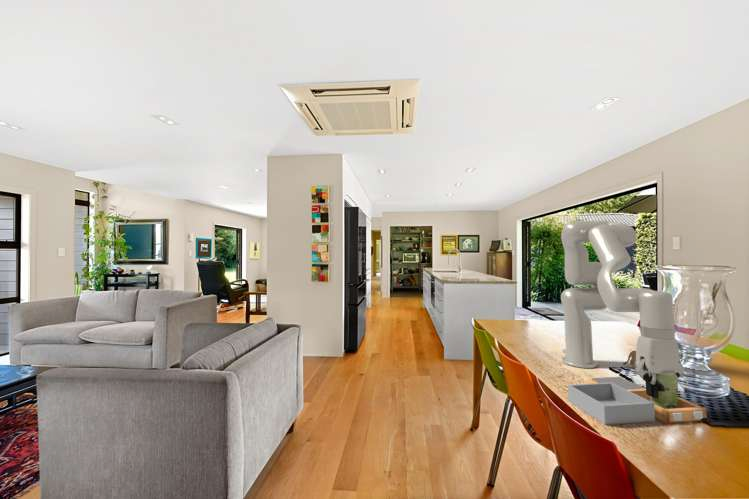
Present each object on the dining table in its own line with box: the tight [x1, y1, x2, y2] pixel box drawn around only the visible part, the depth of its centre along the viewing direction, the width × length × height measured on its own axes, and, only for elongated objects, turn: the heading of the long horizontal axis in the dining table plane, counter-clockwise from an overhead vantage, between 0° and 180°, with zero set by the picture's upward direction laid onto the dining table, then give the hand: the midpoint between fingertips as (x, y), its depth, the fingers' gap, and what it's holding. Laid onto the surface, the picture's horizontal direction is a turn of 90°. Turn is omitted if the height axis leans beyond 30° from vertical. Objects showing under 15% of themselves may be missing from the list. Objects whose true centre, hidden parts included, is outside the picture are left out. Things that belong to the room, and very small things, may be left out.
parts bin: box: [567, 383, 656, 426], centre depth 92 cm, size 14×14×5 cm
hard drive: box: [630, 375, 685, 393], centre depth 110 cm, size 2×8×12 cm
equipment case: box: [587, 376, 708, 424], centre depth 99 cm, size 29×12×3 cm, turn 4°
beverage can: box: [649, 371, 679, 409], centre depth 93 cm, size 6×7×12 cm
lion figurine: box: [622, 350, 637, 370], centre depth 123 cm, size 15×5×9 cm, turn 33°
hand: (660, 395), depth 92 cm, fingers open, 4 cm apart
